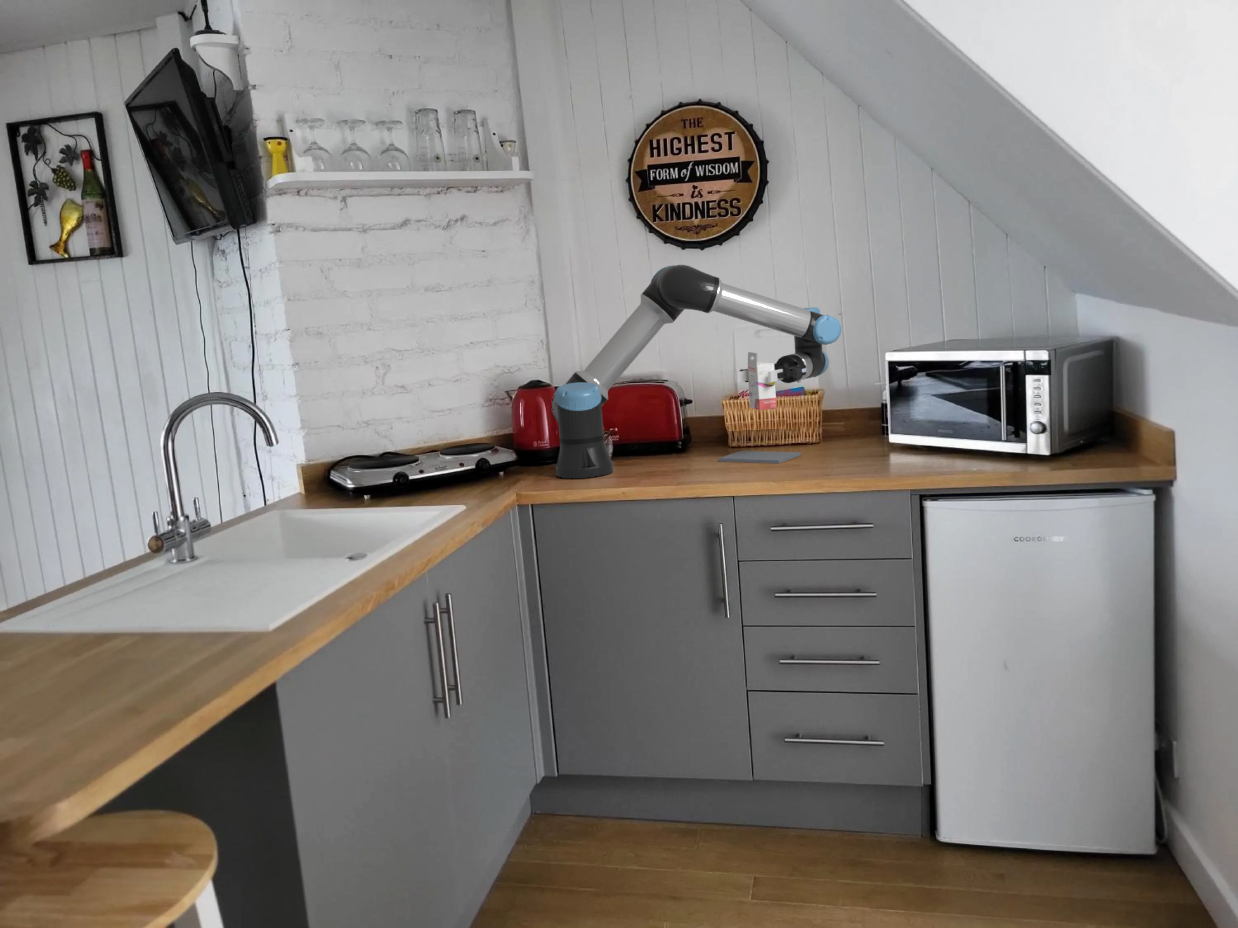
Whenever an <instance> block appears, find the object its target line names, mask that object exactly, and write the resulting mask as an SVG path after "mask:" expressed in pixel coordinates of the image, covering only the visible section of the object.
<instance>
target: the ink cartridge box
mask: <svg viewBox="0 0 1238 928" xmlns="http://www.w3.org/2000/svg"><path fill="white" fill-rule="evenodd" d="M752 358H753V359H752ZM774 364H775V363H771V362H765V361H760V362H758V353H757V352H751V351H748V353H747V369H748V394H749V396H748V397H749V399H748V400H749V408H750V409H751V408H752V409H755V410H759V411H762V410H763V411H764V410H773V409H774V410H775V409H777V395H776V394H777V392H776V381H775V382H769V380H768V372H770V371H774Z"/></svg>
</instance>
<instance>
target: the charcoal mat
mask: <svg viewBox="0 0 1238 928" xmlns="http://www.w3.org/2000/svg"><path fill="white" fill-rule="evenodd" d="M801 455H802V454H801V452H800V451H799V452H798V451H797V452H795V451H768V450H767V451H766V450H765V451H763V450H762V451H761V450H757V451H756V450H739V451H737V452H734V453H730V454H728V455H727V454H726V455H725V456H721V457H718V462H724V463H726V462H727V463H752V464H779V465H780V464H781V463H784V462H787V461H790V460H793V459H795V458H799V457H801Z"/></svg>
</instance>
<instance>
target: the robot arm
mask: <svg viewBox="0 0 1238 928" xmlns="http://www.w3.org/2000/svg"><path fill="white" fill-rule="evenodd" d="M648 284H649V285H648V286H647V287H646V288H645V289H644V291H643V292H642V293H641V294H640V303H639V305H638V306H637V307H636V309H634V311H633V312H632V313H631V314H630V316H628V318H626V320H625V321H624V323H623V324H622V325H621V326H620V327H619V329H618V330H617V331H616V332H615V333H614V335H612V337H611V338H610V339H609V340H608V341H607V343H606V344H605V345H604V346H603V347H602V349H601V350H600V351H599V352H598V353H597V354H596V355H595V357H593V359H592V360H591V361H590V363H589V364H588V365H587V366H586V367H585V369H584V370H579V371H575V372H574V373H573V374H572V375H571V376H570V378H569V379H568V380H567V381H566V382H565V384H563V385H560V386H558V387H556V390H555V391H554V393H553V395H554V397H553V396H552V398H553V401H552V400H551V403H552V408H551V413H552V415H553V417H554V419H555V420H556V422H557V424H558V437H559V451H558V455H557V456H558V457H557V462H556V465H555V476H556V475H557V476H559V477H558V478H560V477H562V478H561V479H571V478H573V479H587V478H588V477H589V478H594V477H595V476H597V477H601V475H602V476H606V475H609V474H612V473H614V462H613V461H612V459H611V456H610V453H609V450H608V448H607V446H606V445H607V444H606V443H605V433H604V421H603V410H602V407H603V406H604V405H605V403H606V402H607V401H608V400H609V394H608V392H609V390H610V389H611V388H612V387H613V385H615V384H616V382H617V381H618V379H619V378H620V377H621V376H622V375H623V374H624V372H625V371H626V370H627V369H628V368H629V366H630V365H631V364H632V363H633V362H634V361H635V360H636V358H637V357H638V356H639V355H640V354H641V353H642V352H643V350H644V349H645V348H646V346H647V345H648V344H649V343H650V342H651V341H652V340H653V338H654V337H655V336H656V335H657V334H658V333H659V331H660V330H661V329H662V328H663V326H664V325H666V324H673V323H674V322H675V321H676V320H677V319H678V318H679V316H680V315H682V313H683V312H684V311H685V310H693V311H699V312H701V313H702V312H703V313H706V314H710V313H711V312H715V313H718V314H721V315H725V316H729V317H732V318H736V319H739V320H741V321H744V322H745V321H746V322H748V323H752V324H755V325H758V326H762V327H765V328H768V329H772V330H774V331H778V332H781V333H785V334H788V335H791V336H793V338H794V339H793V340H794V341H793V342H794V353H791V354H786V355H783V356H781V357H779V358H778V359H777V361H776V362H775V363H773V364H774V371H770V372H768V380H769V382H775V383H776V382H779V381H780V382H783V383H784V384H792V383H795V382H797V383H801V381H803V380H805V379H811V378H816V377H819V376H821V375H822V374H824V373H825V372H826V371H827V369H828V368H829V364H830V363H829V362H830V361H829V357H828V355H827V353H826V352H825V351H823V346H824V345H825V346H826V345H829V344H830V345H831V344H833V343H835V342H837V341H838V340H839V338H840V336H841V334H842V325H841V323H840V321H839V319H838V318H836V317H834V316H832V315H829V314H821V310H820V308H819V307H815V306H814V307H803V308H802V307H801V306H800V307H799V306H796V305H793V304H790V303H787V302H783V301H781V300H776V299H775V298H770V297H768V296H765V295H762V294H759V293H756V292H752V291H749V290H745V289H744V288H743V289H742V288H738V287H735V286H732V285H730V284H727V283H723V282H722V280H721V278H720V277H717V276H714V275H712V274H709V273H706V272H704V271H702V270H699V269H697V268H695V267H692V266H690V265H687V264H676V265H674V264H673V265H668V266H664V267H662V268H661V269H659V270H658V271H656V273H655V274H654V275H653V277H652V279H650V283H648ZM734 383H735V384H739V383H749V380H748V368H745V369H743V368H741V369H739V371H736V372H734ZM552 409H553V410H552ZM557 476H556V477H557Z"/></svg>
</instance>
